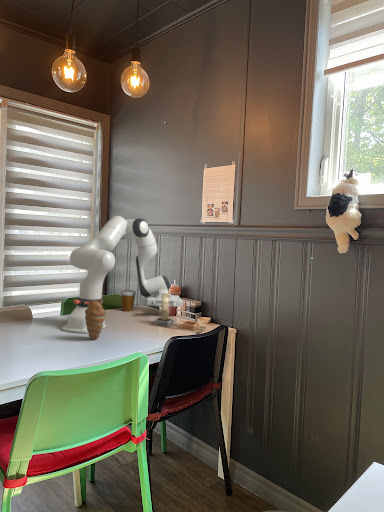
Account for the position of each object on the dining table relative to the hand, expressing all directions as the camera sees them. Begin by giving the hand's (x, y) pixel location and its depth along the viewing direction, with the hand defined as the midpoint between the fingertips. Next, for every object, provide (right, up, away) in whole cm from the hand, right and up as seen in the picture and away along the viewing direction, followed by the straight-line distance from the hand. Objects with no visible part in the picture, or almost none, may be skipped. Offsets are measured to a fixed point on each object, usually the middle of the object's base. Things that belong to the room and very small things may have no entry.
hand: (164, 304), depth 211 cm
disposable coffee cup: (-24, -7, +23) cm, 34 cm away
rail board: (+7, -11, -13) cm, 18 cm away
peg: (+1, -9, -11) cm, 14 cm away
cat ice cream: (-28, -11, -40) cm, 50 cm away
